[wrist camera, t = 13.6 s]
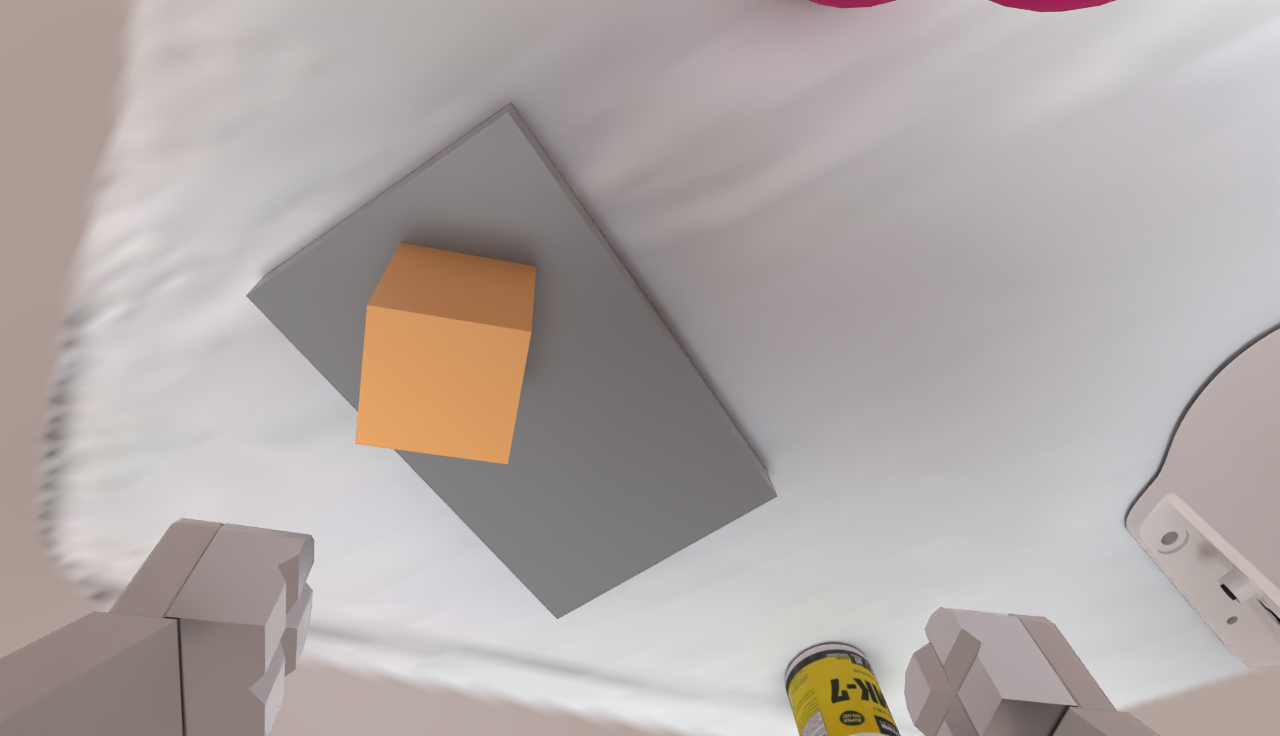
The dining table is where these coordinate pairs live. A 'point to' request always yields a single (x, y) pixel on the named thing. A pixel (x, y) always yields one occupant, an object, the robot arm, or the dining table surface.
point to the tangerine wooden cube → (445, 354)
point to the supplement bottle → (837, 694)
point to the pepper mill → (1042, 3)
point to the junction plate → (539, 372)
